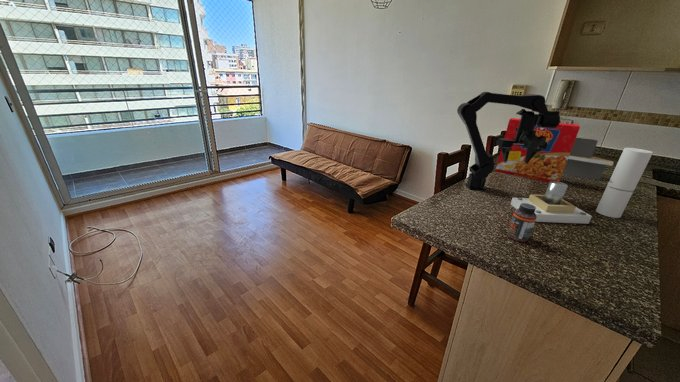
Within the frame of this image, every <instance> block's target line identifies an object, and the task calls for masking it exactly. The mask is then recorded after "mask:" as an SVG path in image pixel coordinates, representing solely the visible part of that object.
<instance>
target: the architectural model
mask: <svg viewBox="0 0 680 382" xmlns="http://www.w3.org/2000/svg"><path fill="white" fill-rule="evenodd" d="M598 143H599V141H598V139H592V138H591V139H590V138H582V137H576V139H575V142H574V145H573V147H572V150H571V152H570V155H569V158H568V160H567V163H566V166H565V168H564V171H563V173H562V175H568V176H574V177H579V178H585V179H591V180H596V181H600V180H601V177H602V175H603V172H604V171H605V169H606V166H610V167H611V166H612V167H613V165H614V161H613V160H609V159H605V158H600V157H597V156H593V154H594V152H595V150H596V148H597V144H598Z"/></svg>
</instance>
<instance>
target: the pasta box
mask: <svg viewBox="0 0 680 382" xmlns="http://www.w3.org/2000/svg"><path fill="white" fill-rule="evenodd" d="M520 119H521V118H517V117H516V118H515V117H510V119H509V120H508V124H507V127H506V131H505V134H504V136H503V137H504V138H507V139H509V140H512V141H514V140H513V137H515V136H516V133H517V131H516V130H515V129H516V128H518V126H519V123H520ZM580 129H581V125H580V124H574V123H565V122H564V123H562V122H560V123H559V125H558V126H557V127H556V128H540V127H538V126H537V125H535V128H534V130H535V131H536V134H535V135H536V136H545V137H546V141H545V142H547V144H548V146H547V149H543V150H542V151H539V152H537V153H536V154H535V155H534V156H533V157H532V158H531V160H530V161H529V162H528V163H527V164H526V163H525V158H526V153H527V148H526V147H525V146H518V145H513V146H512V147H510V148H512V150H511V151H510V152H509V156H508V159H507V162H506V163H505V162H504V160H503V155H502V151H501V150H500V152H499V156H498V159H497V163H496V166H495V169H494V172H495V173H498V174H500V173H501V174H505V175H510V176H514V177H520V178H525V179H530V180H535V181H539V182H544V183H547V184H548V183H549V182H550V181H558V182H561V178H562V176H563V174H562V173H563V171H564V168H565V166H566V163H567V160H568V158H569V155H570V152H571V150H572V147H573V145H574V142H575V139H576V138H578V137H577V136H578V134H579V131H580Z"/></svg>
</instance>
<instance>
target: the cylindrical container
mask: <svg viewBox="0 0 680 382" xmlns="http://www.w3.org/2000/svg"><path fill="white" fill-rule="evenodd" d="M653 153H654V151H651V150H646V149H643V148H642V149H641V148H635V147H624V148H623V150H622V153H621V154H620V157H619V159H618V161H617V163H616V166H615V168H614V170H613V172H612V175H611V176H610V179H609V181H608V183H607V185H606V188H605V189H604V192H603V194H602V197H601V198H600V200H599V202H598V205H597V207H596V209H595V212H597V214H600V215H602V216H605V217H609V218H615V219H618V218H622V215H623V213H624V212H625V209H626V207H627V205H628V203H629V202H630V199H631V197H632V196H633V193H634V191H635V189H636V187H637V186H638V183H639V181H640V179H641V178H642V176H643V174H644V171H645V170H646V167H647V165H648V164H649V162H650V160H651V157H652V156H653Z"/></svg>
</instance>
